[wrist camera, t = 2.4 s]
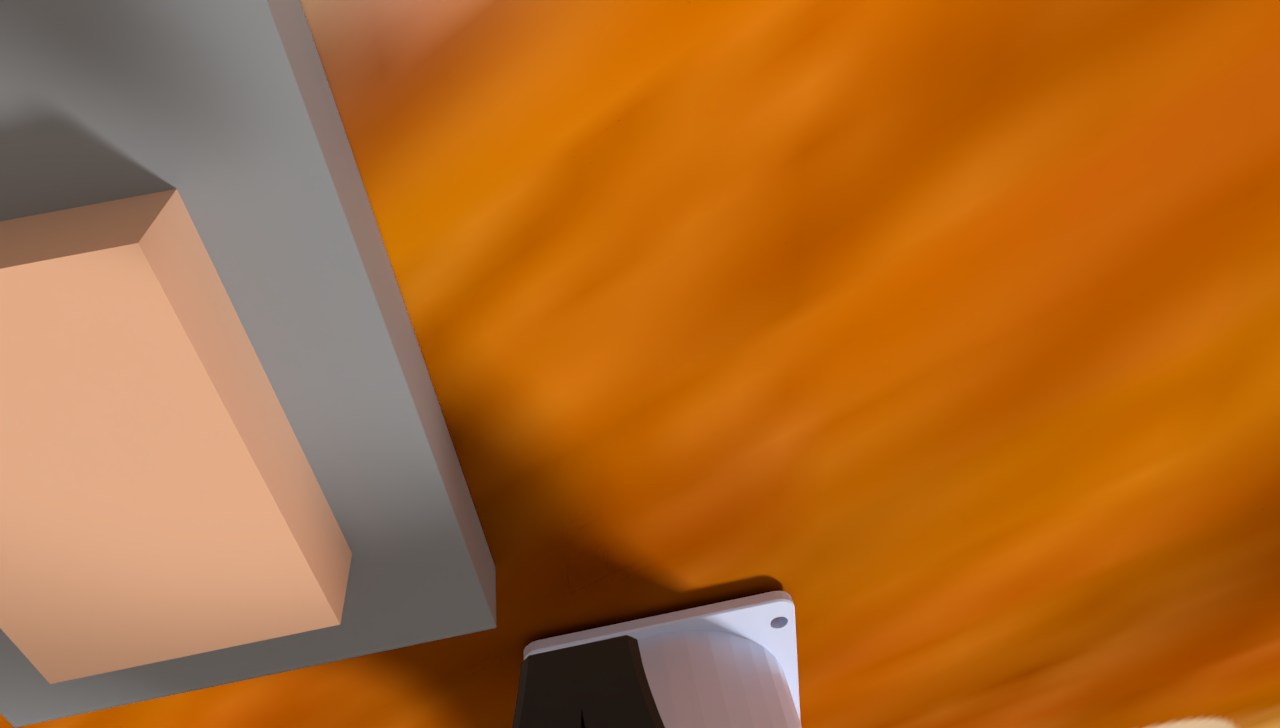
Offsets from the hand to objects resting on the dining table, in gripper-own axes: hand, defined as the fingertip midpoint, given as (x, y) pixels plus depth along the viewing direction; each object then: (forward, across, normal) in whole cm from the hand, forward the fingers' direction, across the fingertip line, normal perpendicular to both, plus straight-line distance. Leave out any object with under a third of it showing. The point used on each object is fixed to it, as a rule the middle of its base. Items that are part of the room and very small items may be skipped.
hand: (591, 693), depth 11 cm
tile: (+8, +8, 0) cm, 12 cm away
